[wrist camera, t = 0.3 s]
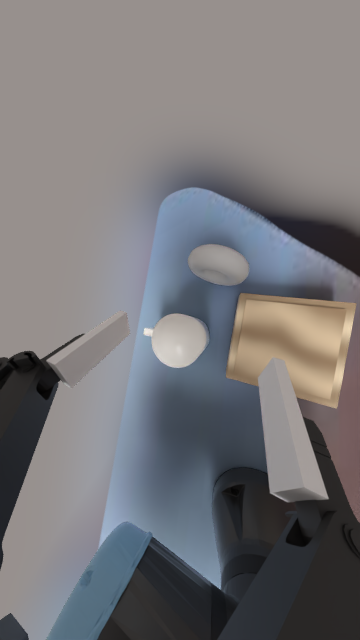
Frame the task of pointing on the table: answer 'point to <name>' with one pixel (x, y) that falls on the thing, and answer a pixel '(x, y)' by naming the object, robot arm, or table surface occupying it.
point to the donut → (218, 264)
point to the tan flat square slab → (292, 342)
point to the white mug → (178, 339)
